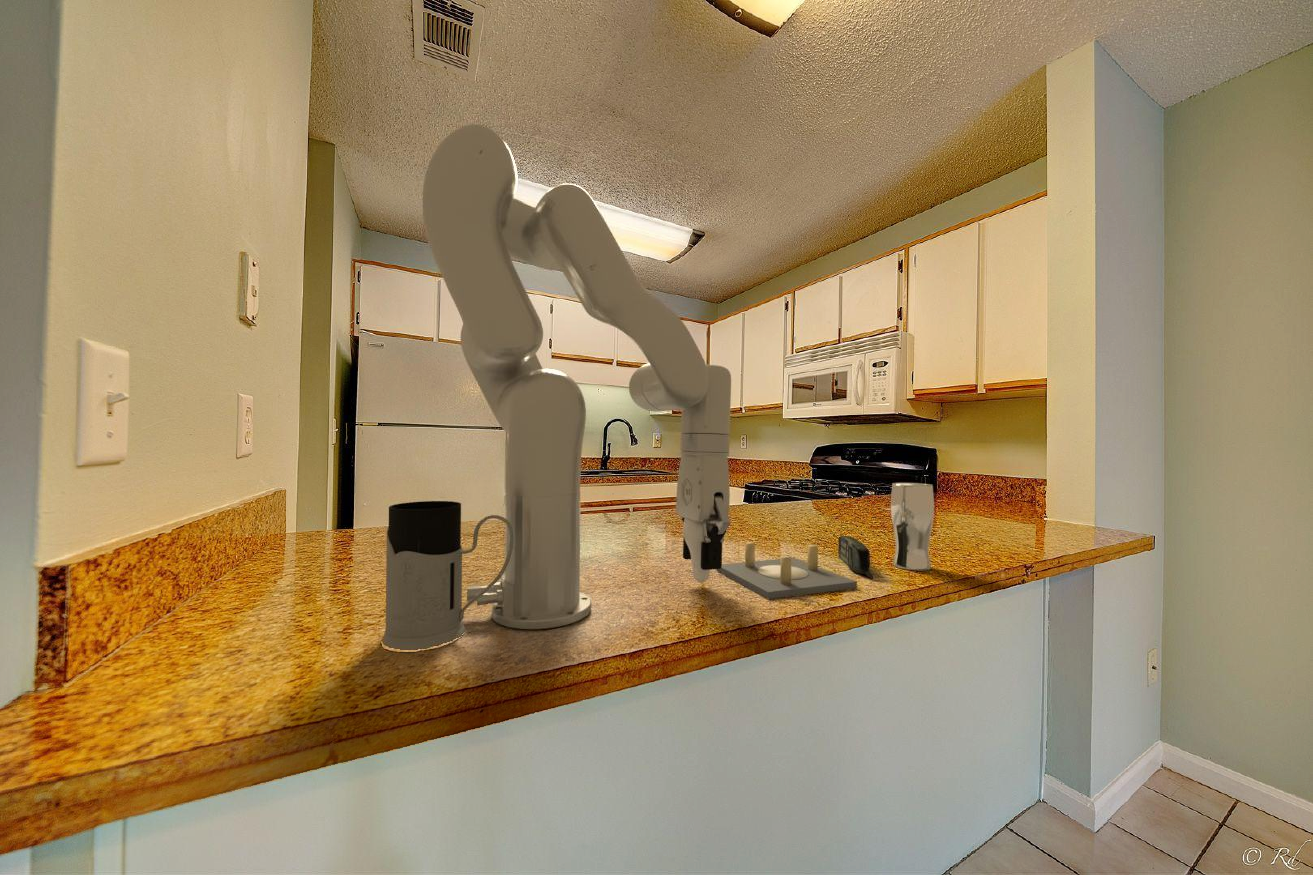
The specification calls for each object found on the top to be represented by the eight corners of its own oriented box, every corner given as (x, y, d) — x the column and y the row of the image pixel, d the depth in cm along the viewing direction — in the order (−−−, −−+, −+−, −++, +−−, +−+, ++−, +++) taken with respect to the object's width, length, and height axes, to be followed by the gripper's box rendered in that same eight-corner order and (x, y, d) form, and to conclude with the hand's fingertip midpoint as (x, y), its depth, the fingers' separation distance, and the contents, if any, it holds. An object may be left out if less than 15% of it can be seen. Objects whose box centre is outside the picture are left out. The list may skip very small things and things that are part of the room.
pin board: (767, 598, 69) (768, 564, 69) (716, 570, 84) (716, 541, 84) (856, 588, 74) (857, 555, 74) (793, 563, 89) (793, 536, 89)
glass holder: (401, 622, 59) (402, 500, 59) (519, 619, 60) (520, 499, 60) (364, 654, 50) (366, 510, 50) (504, 649, 52) (505, 509, 52)
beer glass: (882, 564, 89) (882, 483, 89) (907, 560, 92) (908, 482, 92) (916, 573, 83) (916, 486, 83) (942, 569, 86) (943, 485, 86)
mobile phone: (835, 533, 94) (859, 548, 80) (851, 534, 94) (878, 549, 79) (835, 559, 94) (859, 579, 79) (851, 559, 94) (878, 579, 79)
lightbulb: (723, 589, 71) (725, 514, 71) (681, 587, 71) (683, 512, 71) (718, 577, 77) (720, 508, 77) (680, 576, 77) (682, 507, 77)
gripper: (662, 445, 81) (659, 552, 81) (707, 446, 65) (703, 580, 65) (702, 446, 84) (699, 550, 83) (755, 447, 67) (752, 576, 67)
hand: (701, 562), depth 74 cm, fingers closed on lightbulb, 5 cm apart
